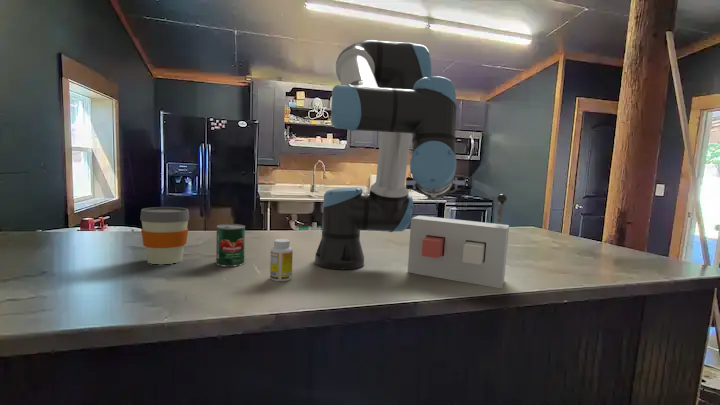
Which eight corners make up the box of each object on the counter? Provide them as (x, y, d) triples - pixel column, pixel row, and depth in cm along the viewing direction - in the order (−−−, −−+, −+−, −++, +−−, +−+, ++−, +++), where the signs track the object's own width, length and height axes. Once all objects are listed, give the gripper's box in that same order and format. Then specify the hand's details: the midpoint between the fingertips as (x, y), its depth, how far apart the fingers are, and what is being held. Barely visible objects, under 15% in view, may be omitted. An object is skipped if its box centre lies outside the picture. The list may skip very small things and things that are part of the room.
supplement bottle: (293, 276, 103) (294, 238, 102) (289, 282, 98) (290, 243, 97) (272, 275, 103) (273, 237, 102) (267, 281, 98) (268, 241, 97)
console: (407, 272, 113) (411, 218, 112) (415, 266, 120) (419, 215, 119) (501, 288, 102) (506, 228, 101) (504, 280, 109) (509, 225, 108)
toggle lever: (493, 221, 105) (497, 192, 107) (493, 224, 107) (497, 195, 110) (503, 222, 104) (507, 193, 106) (503, 225, 106) (507, 196, 109)
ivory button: (462, 261, 101) (463, 244, 101) (466, 257, 107) (467, 241, 106) (480, 264, 99) (482, 247, 99) (483, 259, 105) (485, 243, 104)
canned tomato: (233, 258, 118) (234, 223, 117) (250, 263, 114) (251, 226, 113) (210, 263, 112) (210, 225, 111) (226, 268, 107) (227, 229, 106)
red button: (421, 255, 106) (422, 239, 105) (427, 251, 111) (428, 236, 111) (438, 258, 104) (439, 241, 103) (443, 254, 109) (444, 238, 109)
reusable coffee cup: (159, 254, 118) (159, 205, 117) (197, 257, 117) (198, 208, 115) (129, 264, 106) (129, 210, 105) (171, 268, 104) (172, 213, 103)
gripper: (401, 195, 78) (410, 206, 101) (467, 196, 76) (461, 207, 99) (402, 159, 79) (410, 177, 102) (468, 158, 76) (462, 178, 99)
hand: (435, 192), depth 100 cm, fingers closed
